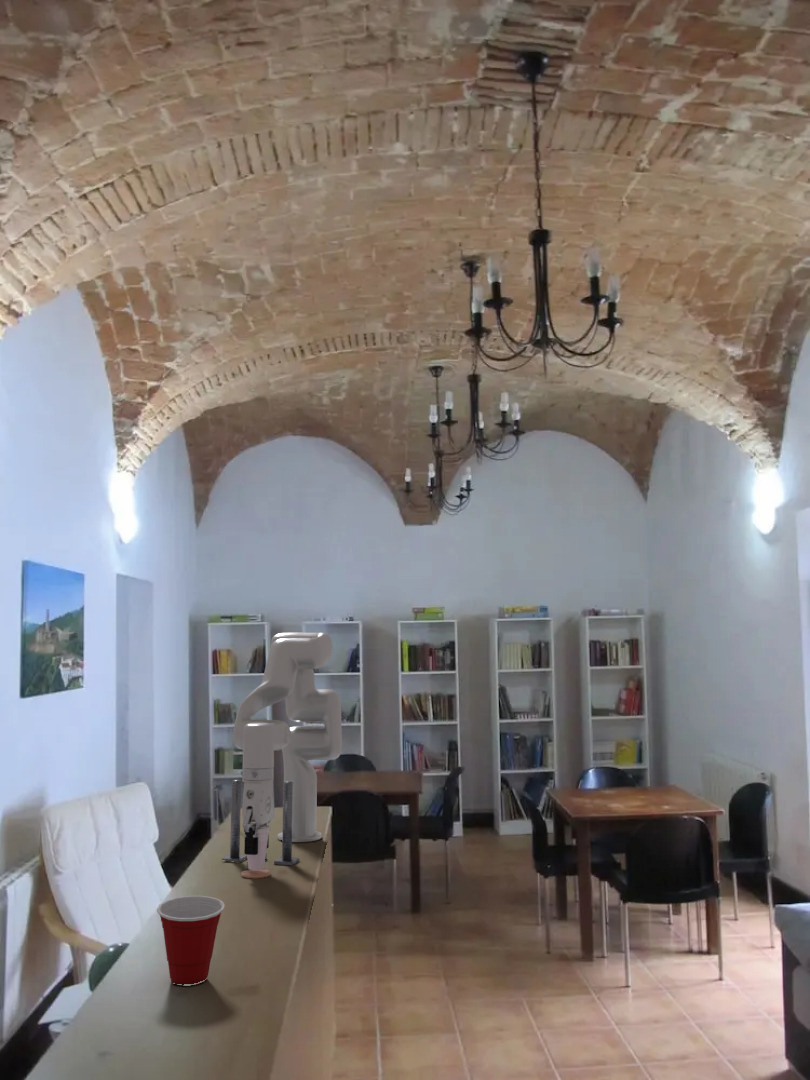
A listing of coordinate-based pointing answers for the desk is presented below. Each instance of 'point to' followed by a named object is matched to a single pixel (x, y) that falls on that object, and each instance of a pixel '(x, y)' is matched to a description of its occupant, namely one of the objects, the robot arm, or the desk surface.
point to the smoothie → (259, 849)
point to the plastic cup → (190, 936)
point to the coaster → (256, 873)
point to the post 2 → (287, 827)
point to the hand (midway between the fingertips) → (256, 850)
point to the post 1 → (235, 824)
